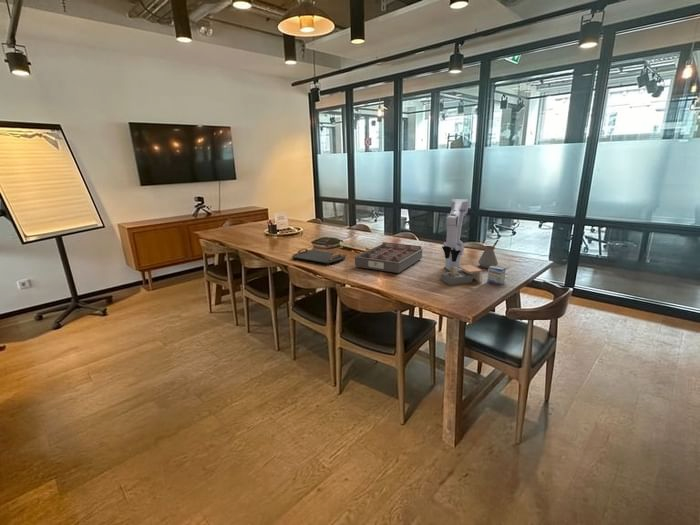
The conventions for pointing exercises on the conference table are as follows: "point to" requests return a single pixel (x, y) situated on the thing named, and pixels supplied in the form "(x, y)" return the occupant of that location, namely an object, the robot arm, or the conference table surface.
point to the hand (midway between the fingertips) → (450, 259)
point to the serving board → (318, 256)
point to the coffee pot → (488, 257)
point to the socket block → (457, 278)
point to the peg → (453, 271)
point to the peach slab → (472, 271)
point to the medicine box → (496, 275)
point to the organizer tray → (389, 257)
